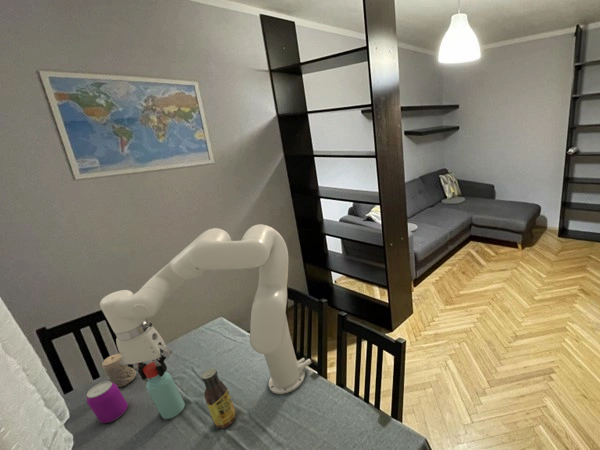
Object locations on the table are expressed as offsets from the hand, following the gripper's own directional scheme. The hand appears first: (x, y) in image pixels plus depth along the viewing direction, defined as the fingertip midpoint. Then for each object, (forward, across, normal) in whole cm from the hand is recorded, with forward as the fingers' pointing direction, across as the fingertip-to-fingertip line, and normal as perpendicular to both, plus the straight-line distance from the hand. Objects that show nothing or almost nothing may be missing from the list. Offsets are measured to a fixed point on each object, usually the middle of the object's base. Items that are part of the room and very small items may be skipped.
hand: (155, 374), depth 100 cm
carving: (+17, +25, -19) cm, 35 cm away
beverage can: (+17, +20, -4) cm, 26 cm away
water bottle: (+17, 0, 0) cm, 17 cm away
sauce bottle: (+17, -20, +9) cm, 27 cm away
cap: (-1, 0, 0) cm, 1 cm away
